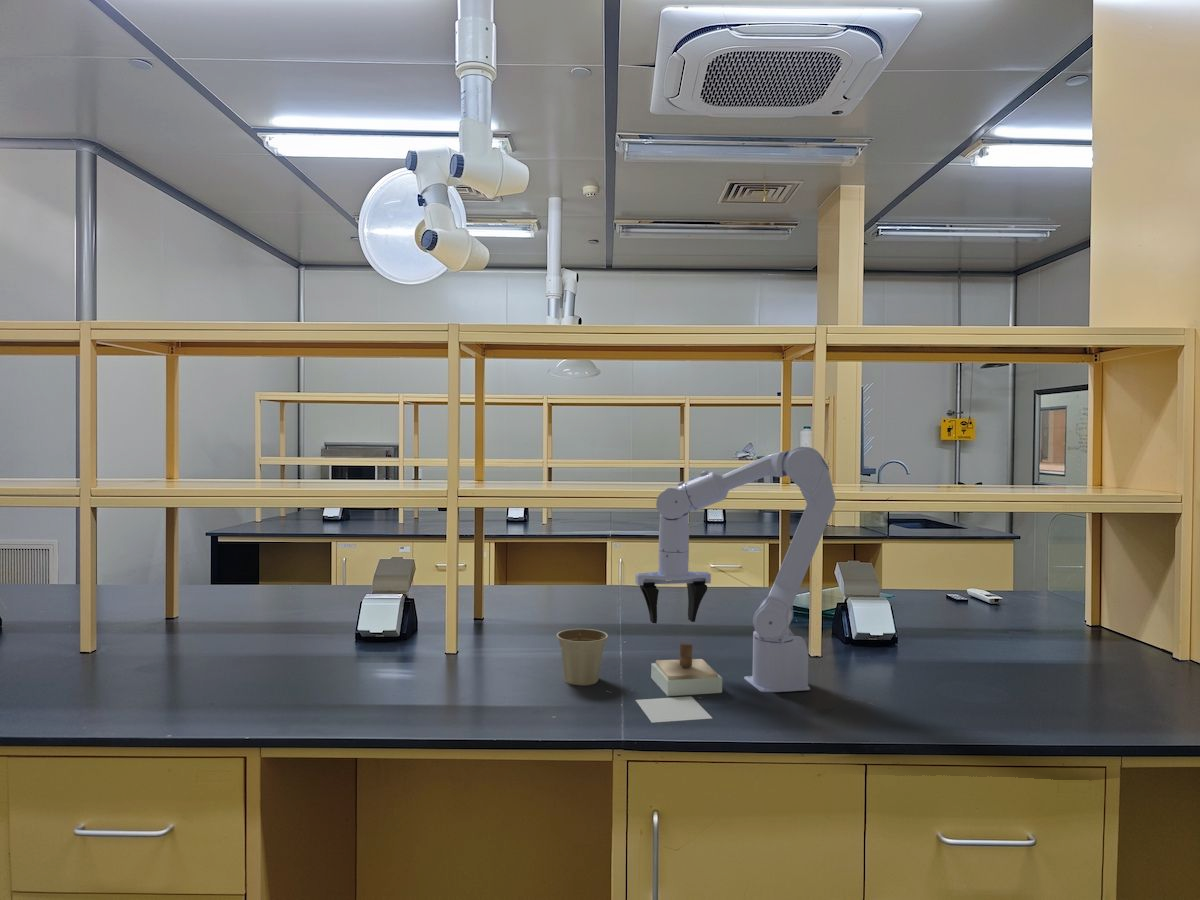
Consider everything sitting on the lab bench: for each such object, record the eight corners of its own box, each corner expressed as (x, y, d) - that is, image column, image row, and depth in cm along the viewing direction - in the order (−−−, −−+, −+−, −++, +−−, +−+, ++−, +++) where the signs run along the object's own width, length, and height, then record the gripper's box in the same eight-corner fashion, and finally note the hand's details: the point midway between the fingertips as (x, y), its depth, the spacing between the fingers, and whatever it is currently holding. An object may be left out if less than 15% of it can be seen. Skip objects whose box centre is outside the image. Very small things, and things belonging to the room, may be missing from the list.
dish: (701, 678, 134) (702, 660, 134) (722, 697, 125) (722, 677, 125) (651, 681, 132) (651, 663, 132) (667, 700, 122) (667, 680, 122)
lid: (702, 662, 133) (702, 637, 133) (717, 677, 125) (718, 651, 125) (655, 663, 132) (656, 638, 132) (667, 679, 123) (668, 652, 123)
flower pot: (579, 670, 137) (579, 625, 137) (617, 681, 131) (618, 634, 131) (545, 682, 130) (545, 635, 130) (584, 694, 124) (585, 644, 124)
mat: (691, 698, 122) (691, 696, 122) (712, 720, 113) (712, 718, 113) (635, 702, 120) (635, 699, 120) (651, 725, 110) (652, 722, 110)
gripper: (702, 547, 142) (701, 615, 142) (631, 548, 138) (630, 617, 139) (715, 552, 135) (714, 623, 135) (641, 553, 132) (640, 626, 132)
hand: (672, 621), depth 136 cm, fingers open, 7 cm apart
